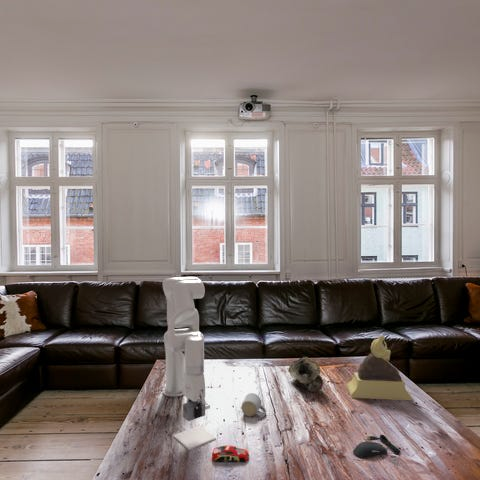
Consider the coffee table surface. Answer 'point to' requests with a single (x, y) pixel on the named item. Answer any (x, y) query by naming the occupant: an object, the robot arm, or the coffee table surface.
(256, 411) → the ceramic mug
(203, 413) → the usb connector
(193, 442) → the felt coaster
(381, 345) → the yellow brown mound sculpture
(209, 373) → the coffee table surface
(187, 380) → the robot arm
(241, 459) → the race car
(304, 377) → the hollow geode rock
